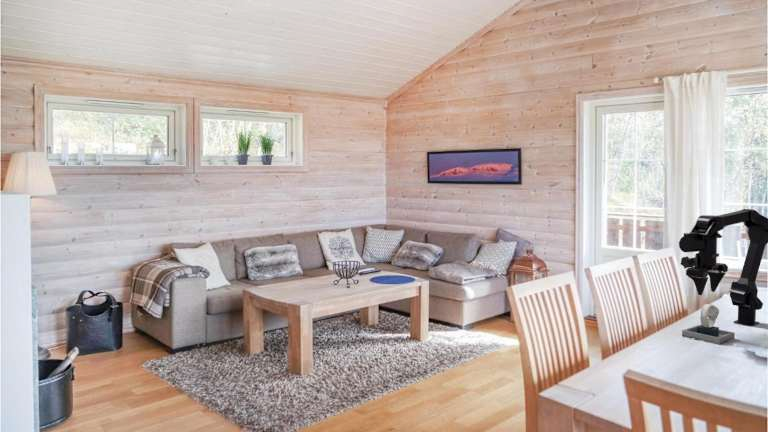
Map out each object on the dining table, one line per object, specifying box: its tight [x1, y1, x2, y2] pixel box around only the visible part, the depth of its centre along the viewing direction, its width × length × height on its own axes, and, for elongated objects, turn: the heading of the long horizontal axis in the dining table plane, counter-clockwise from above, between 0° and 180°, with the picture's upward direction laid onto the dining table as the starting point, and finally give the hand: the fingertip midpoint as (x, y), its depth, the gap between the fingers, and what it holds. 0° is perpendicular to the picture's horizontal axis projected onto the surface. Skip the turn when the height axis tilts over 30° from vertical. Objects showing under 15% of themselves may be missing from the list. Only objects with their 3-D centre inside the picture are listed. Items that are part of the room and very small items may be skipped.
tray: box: [681, 324, 735, 345], centre depth 208 cm, size 11×13×2 cm
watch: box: [697, 303, 720, 337], centre depth 208 cm, size 6×8×11 cm
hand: (706, 293), depth 218 cm, fingers open, 9 cm apart
